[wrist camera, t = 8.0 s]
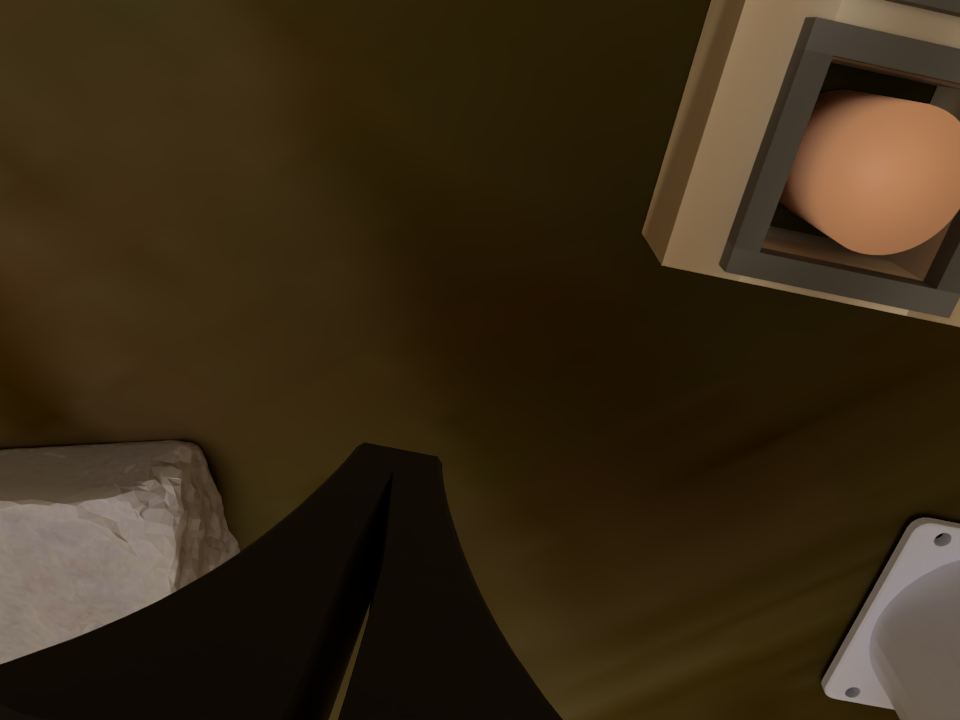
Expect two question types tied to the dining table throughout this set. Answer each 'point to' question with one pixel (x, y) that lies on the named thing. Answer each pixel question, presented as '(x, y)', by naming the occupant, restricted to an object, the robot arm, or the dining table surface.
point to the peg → (876, 171)
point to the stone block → (101, 535)
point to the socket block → (776, 139)
